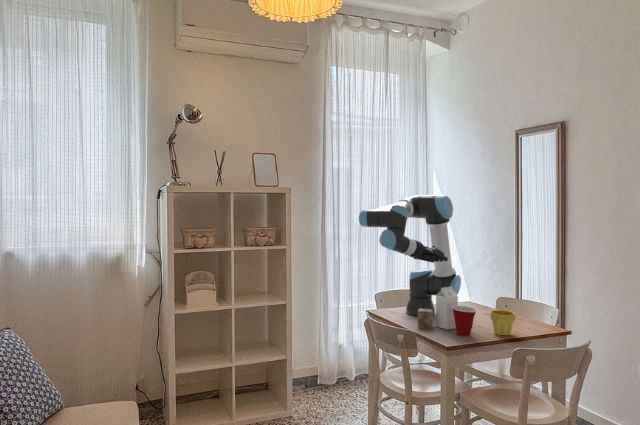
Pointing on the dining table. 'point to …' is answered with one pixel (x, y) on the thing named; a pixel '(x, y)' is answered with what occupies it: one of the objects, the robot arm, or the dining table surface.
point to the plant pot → (502, 321)
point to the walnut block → (425, 318)
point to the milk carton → (446, 308)
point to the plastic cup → (463, 319)
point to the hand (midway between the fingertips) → (450, 262)
